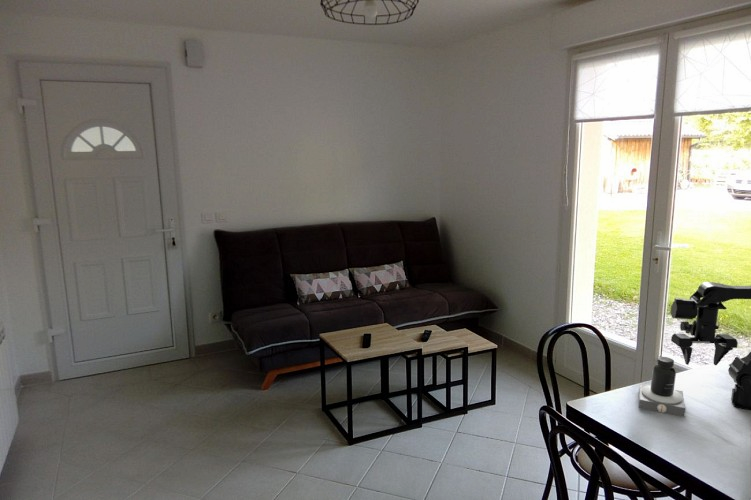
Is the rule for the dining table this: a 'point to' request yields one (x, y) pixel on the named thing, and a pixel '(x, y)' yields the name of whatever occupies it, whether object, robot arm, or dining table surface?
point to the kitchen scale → (661, 401)
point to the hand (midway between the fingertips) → (700, 364)
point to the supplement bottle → (663, 377)
